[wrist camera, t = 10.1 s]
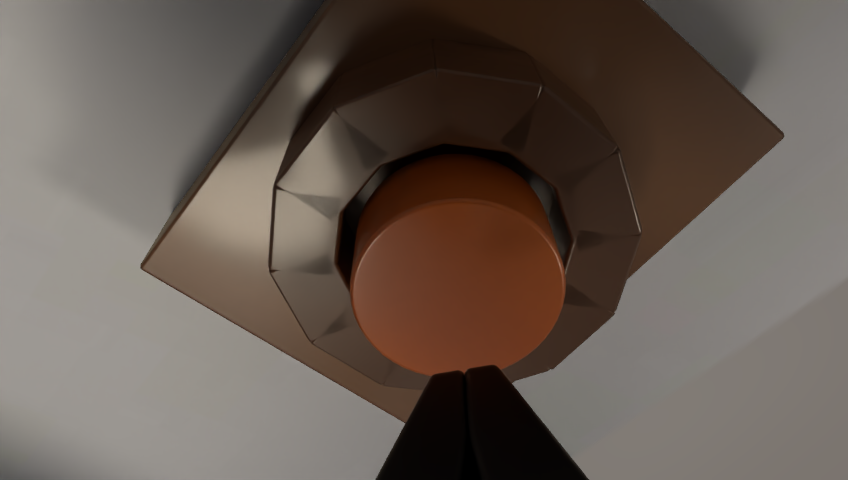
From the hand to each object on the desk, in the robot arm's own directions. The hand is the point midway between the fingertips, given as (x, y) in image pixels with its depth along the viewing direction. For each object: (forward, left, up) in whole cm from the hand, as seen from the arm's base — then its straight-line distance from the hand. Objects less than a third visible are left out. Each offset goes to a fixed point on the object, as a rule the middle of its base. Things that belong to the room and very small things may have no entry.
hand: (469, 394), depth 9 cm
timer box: (0, 0, -8) cm, 8 cm away
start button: (0, 0, -4) cm, 4 cm away
